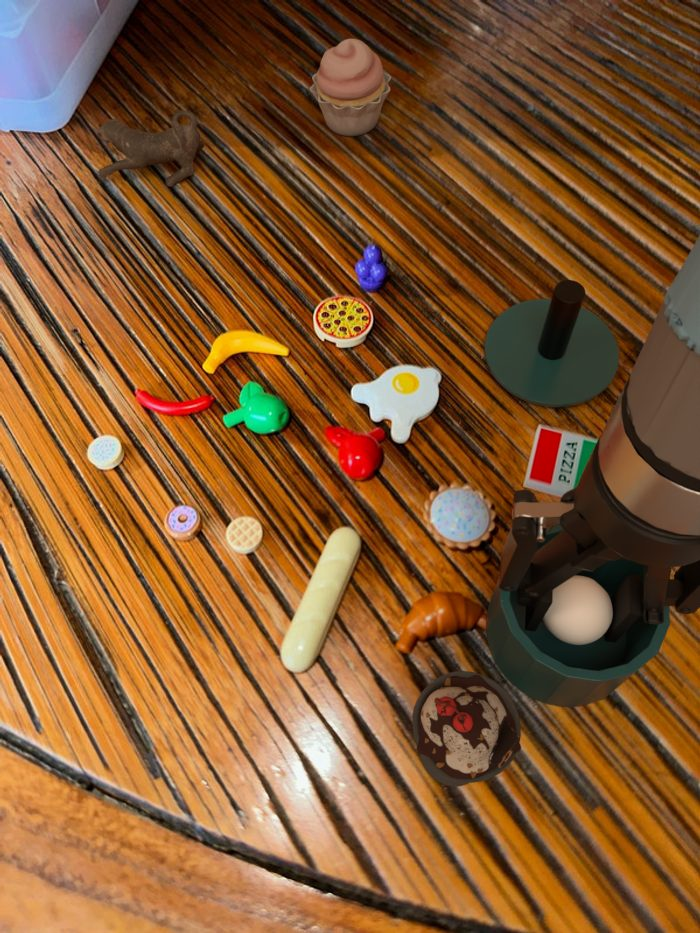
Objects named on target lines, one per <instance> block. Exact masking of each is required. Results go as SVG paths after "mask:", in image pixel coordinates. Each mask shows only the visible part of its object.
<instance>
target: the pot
mask: <svg viewBox="0 0 700 933" xmlns="http://www.w3.org/2000/svg"><path fill="white" fill-rule="evenodd" d="M563 530H564V529H563V528H562V526H561V524H559V525H555V526H553V527H552V529H551V531H549V532H546V540H545V541H544V542H538V549H537V551H538V550H539V549H540V548H542V547H543V546H544V545H545V544H547V543H548V542H549V541H550V540H552V539H553V538H554V537H556V536H557V535H558V534H559V533H561V532H562V531H563ZM628 575H636V576H641V583H642V582H643V564H640V563H637V562H634V561H630V560H626V559H618V560H616V561H612V560H610V561H608V562H607V563H605V564H603V565H602V566H600V567H599V568H597V569H596V570H594V571H587V570H582V571H581V572H579V573H578V574H576V576H584V577H588V578H591V579H593V580H594V581H596V582H597V583H598V584H599V585H600V586H601V587H602V588H603V589H604V590H605V591H606V592H607V593H608V595H609V597H610V598H611V597H612V596H613V594H614V593H615V592H616V591H617V589H618V588H619V587H620V586H621V584H622V583H623V582H624V580H625V579H626V578H627V577H628ZM499 578H500V576H498V580H497V581H496V585H495V587H494V590H493V592H492V595H491V598H490V601H489V602H488V605H487V614H486V620H485V634H486V635H485V636H486V642H487V646H488V649H489V652H490V654H491V656H492V659H493V661H494V663H495V664H496V667H497V668H498V669H499V671H500V672H501V673H502V675H503V676H504V677H505V679H506V680H507V681H508V682H509V683H510V684H511V685H512V686H514V688H516V689H517V690H518V691H519V692H521V693H522V694H524V695H526V696H527V697H529V698H531V699H533V700H535V701H537V702H540V703H543V704H545V705H546V704H547V705H550V706H555V707H563V708H576V707H583V706H587V705H591V704H593V703H597V702H600V701H602V700H605V699H606V698H607V697H608V696H610V695H611V694H612V693H613V692H614V691H615V690H616V689H617V688H619V687H620V686H621V685H622V684H624V683H625V682H626V681H627V680H629V679H630V678H631V677H632V676H633V675H634V674H635V673H637V672H638V671H639V670H640V669H641V668H642V667H643V666H645V665H646V664H647V663H649V662H650V661H651V660H652V659H653V658H654V657H655V656H657V655H658V654H659V652H660V650H661V647H662V645H663V643H664V640H665V638H666V635H667V633H668V631H669V628H670V626H671V615H670V613H671V612H670V606H665V607H664V623H662V624H648V623H645V622H644V621H635V622H634V623H633V624H632V625H631V626H630V628H629V629H628V630H627V631H626V632H625V633H624V634H623V635H622V636H621V637H620V638H619V639H618V640H617V641H616V642H615V643H614V642H607V641H605V634H604V635H603V636H602V637H600V638H599V639H598V640H596V641H594V642H592V643H589V644H584V645H573V644H569V643H566V642H563V641H561V640H560V639H558V638H557V637H555V636H554V635H553V634H552V633H551V632H550V631H549V630H548V628H547V627H546V625H545V624H544V622H543V619H542V621H541V623H540V624H539V626H538V628H537V629H536V631H535V632H534V631H527V630H525V616H526V606H519V604H518V589H517V590H515V591H503V590H502V589H500V588H499Z"/></svg>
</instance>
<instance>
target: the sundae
mask: <svg viewBox="0 0 700 933" xmlns="http://www.w3.org/2000/svg"><path fill="white" fill-rule="evenodd" d="M411 718H412V732H413V738H414V740H415V744H416V750H417V753H418V755H419V758H420V761H421V764H422V766H423V768H424V770H425V771H426V773H427V774H428V775H429V777H431V778H432V779H433V780H434V781H435V782H437V783H440V784H441V785H444V786H447V787H463V786H466V785H469V784H472V783H482V782H484V781H487V780H489V779H492V778H494V777H496V776H497V775H500V774H501V773H502V772H504V770H505V769H506V768H508V766H510V764H512V762H513V761H514V759H515V757H516V755H517V753H519V752H520V751H521V749H522V746H521V736H522V730H521V729H522V728H521V720H520V714H519V711H518V709H517V707H516V704H515V702H514V701H513V699H512V696H511V695H510V694H509V693H508V692H507V691H506V690H505V689H504V687H503V686H501V685H500V684H498V682H497V681H495V680H494V679H492V678H490V677H488V676H485V675H483V674H481V673H477V672H474V671H468V670H456V671H450V672H448V673H444V674H442V675H441V676H438V677H435V679H433V680H432V681H431V682H430V683H429V684H427V686H426V687H425V688H424V689H423V690H422V691H421V692H420V694H419V695H418V697H417V699H416V702H415V704H414V706H413V712H412V715H411Z"/></svg>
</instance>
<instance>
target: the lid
mask: <svg viewBox="0 0 700 933" xmlns="http://www.w3.org/2000/svg"><path fill="white" fill-rule="evenodd" d="M585 297H586V289H585V287H584V285H582V283H580V282H578V281H576V280H573V279H564V280H561V281H559V282H558V283H556V285H555V286H554V289H553V293H552V296H551V298H536V299H534V298H533V299H528V300H525V301H521V302H518V303H516V304H514V305H512V306H510V307H508V308H506V309H505V310H504V311H502V312H501V313H500V314H498V315H497V316H496V318H495V319H494V320H493V321H492V323H490V326H489V328H488V330H487V333H486V335H485V338H484V340H485V341H484V346H483V347H484V349H483V350H484V359H485V362H486V365H487V368H488V370H489V372H490V373H491V375H492V376H493V378H494V380H496V382H497V383H498V384H499V385H500V386H501V387H502V388H503V389H504V390H506V391H507V392H509V394H512V395H513V396H514V397H516V398H518V399H520V400H522V401H524V402H526V403H530V404H532V405H533V404H534V405H536V406H541V407H547V408H568V407H573V406H578V405H583V404H585V403H587V402H590V401H592V400H593V399H595V398H597V397H598V396H600V395H601V394H602V393H604V392H605V391H606V390H607V388H609V386H610V385H611V383H612V382H613V381H614V379H615V376H616V375H617V372H618V369H619V364H620V349H619V346H618V342H617V340H616V337H615V335H614V333H613V332H612V330H611V329H610V328H609V326H608V325H607V324H606V323H605V321H603V320H602V319H601V318H600V316H598V315H596V314H595V313H594V312H593V311H591V310H589V309H587V308H585V307H583V303H584V299H585Z"/></svg>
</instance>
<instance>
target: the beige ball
mask: <svg viewBox="0 0 700 933" xmlns="http://www.w3.org/2000/svg"><path fill="white" fill-rule="evenodd" d="M612 618H613V608H612V603H611V600H610V597H609V595H608V593H607V592H606V591H605V590H604V589H603V588H602V587H601V586H600V585H599V584H598V583H597V582H596V581H594V580H593V579H591V578H588V577H584V576H576V575H575V576H573V577H572V578H570V579H569V580H567V581H566V582H564V583H563V584H561V585H560V586H558V587H557V588H555V589H554V590H553V598H552V604H551V606H550V608H549V609H548V611H547V613H546V614H545V616H544V618H543V622H544V624H545V625H546V627H547V628H548V630H549V631H550V632H551V633H552V634H553V635H554V636H555V637H557V638H558V639H560V640H561V641H563V642H566V643H569V644H573V645H584V644H589V643H592V642H594V641H596V640H598V639H599V638H600V637H602V636H603V635H604V634H605V632H606V631H607V630H608V628H609V626H610V624H611V622H612Z"/></svg>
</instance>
